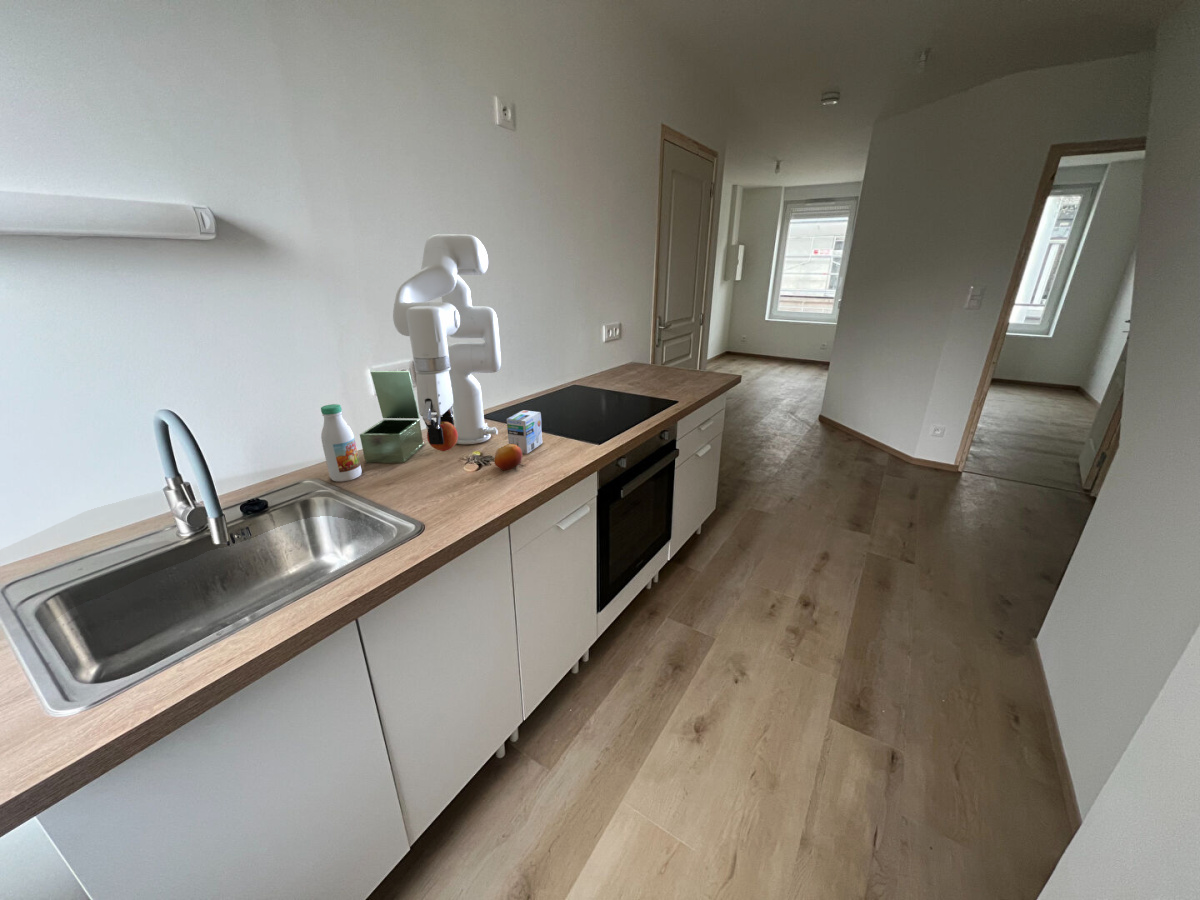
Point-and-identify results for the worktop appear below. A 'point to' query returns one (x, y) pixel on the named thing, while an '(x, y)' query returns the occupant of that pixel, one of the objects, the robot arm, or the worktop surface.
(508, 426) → the light bulb box
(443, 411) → the robot arm
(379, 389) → the lid
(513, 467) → the fruit
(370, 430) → the bread bin
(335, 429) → the milk bottle
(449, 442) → the fruit
